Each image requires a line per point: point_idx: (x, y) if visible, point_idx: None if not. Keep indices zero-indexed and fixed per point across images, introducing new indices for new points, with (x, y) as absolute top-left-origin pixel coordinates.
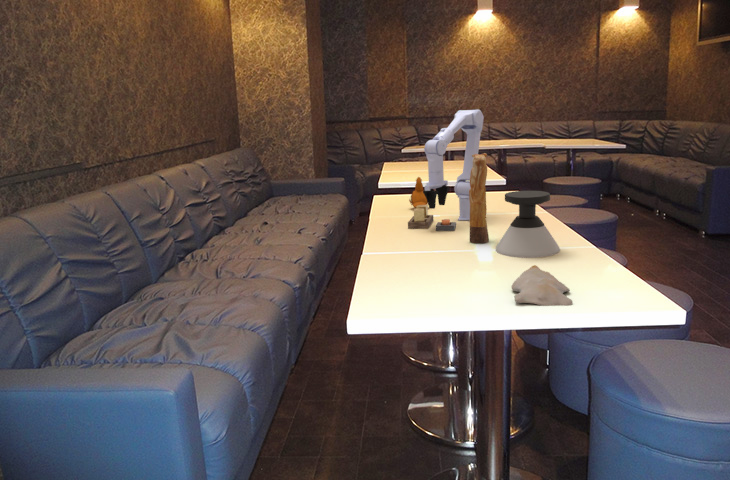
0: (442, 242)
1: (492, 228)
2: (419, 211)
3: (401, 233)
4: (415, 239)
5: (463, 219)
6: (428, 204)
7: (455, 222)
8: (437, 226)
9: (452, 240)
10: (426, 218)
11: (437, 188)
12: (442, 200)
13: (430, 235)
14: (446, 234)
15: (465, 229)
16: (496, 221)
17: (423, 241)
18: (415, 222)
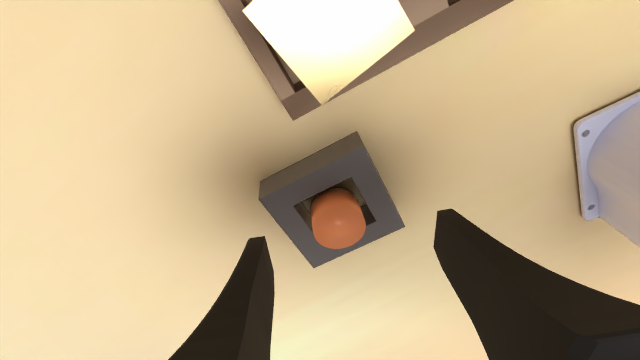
0: (96, 326)
1: (419, 322)
2: (288, 61)
3: (45, 29)
4: (24, 217)
5: (578, 151)
6: (238, 263)
7: (391, 232)
8: (265, 205)
9: (153, 331)
10: (423, 7)
11: (557, 357)
12: (454, 270)
13: (156, 221)
14: (226, 262)
15: (362, 265)
16: (560, 272)
17: (34, 268)
18: (236, 28)
